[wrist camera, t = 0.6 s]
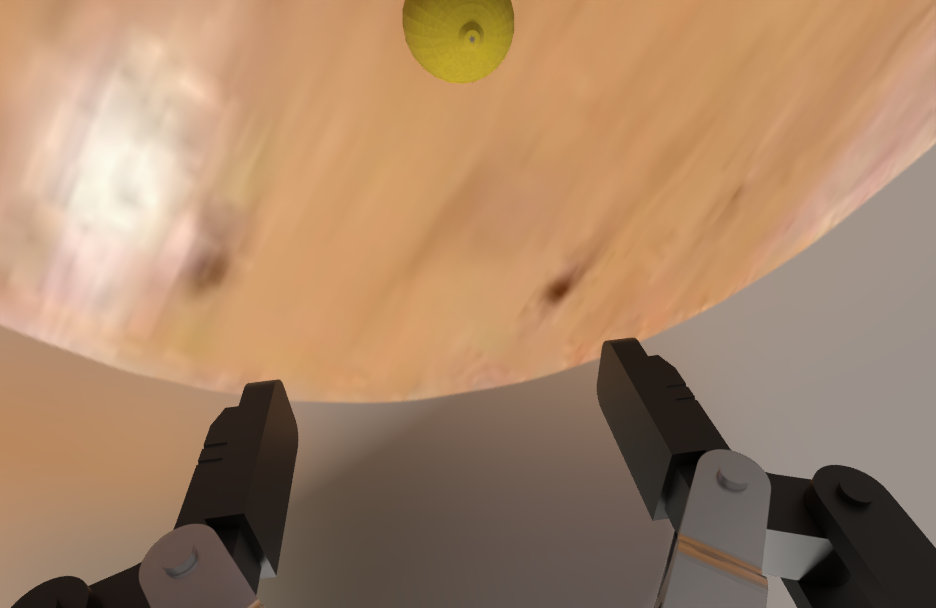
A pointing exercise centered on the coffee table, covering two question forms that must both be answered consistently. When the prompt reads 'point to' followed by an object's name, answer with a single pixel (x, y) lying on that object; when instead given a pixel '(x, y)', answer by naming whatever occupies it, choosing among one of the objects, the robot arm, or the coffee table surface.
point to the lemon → (459, 36)
